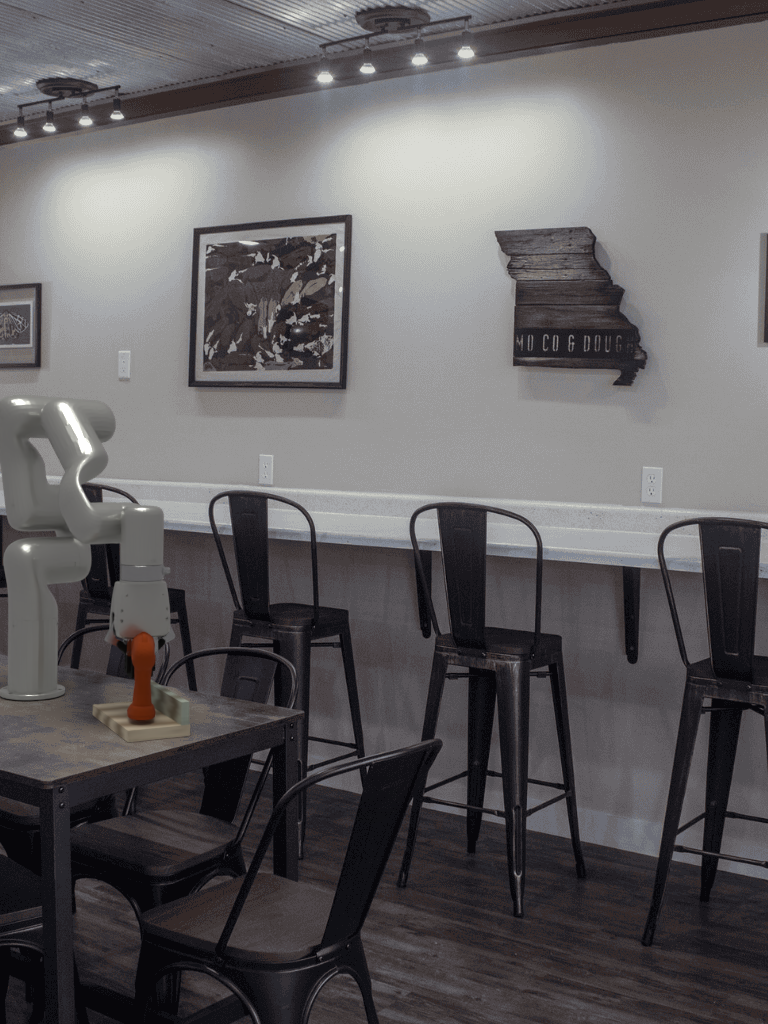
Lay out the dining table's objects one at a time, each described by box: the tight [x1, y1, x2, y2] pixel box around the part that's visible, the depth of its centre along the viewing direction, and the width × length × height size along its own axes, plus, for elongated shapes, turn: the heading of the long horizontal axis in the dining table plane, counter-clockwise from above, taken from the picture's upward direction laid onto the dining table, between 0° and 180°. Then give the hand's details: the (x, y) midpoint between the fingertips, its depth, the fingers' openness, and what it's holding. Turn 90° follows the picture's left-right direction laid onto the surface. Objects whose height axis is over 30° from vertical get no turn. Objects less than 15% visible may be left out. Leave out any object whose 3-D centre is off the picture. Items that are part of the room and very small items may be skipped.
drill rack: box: [92, 679, 191, 743], centre depth 197 cm, size 22×11×6 cm, turn 30°
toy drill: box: [127, 632, 157, 720], centre depth 197 cm, size 5×19×15 cm, turn 15°
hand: (139, 675), depth 197 cm, fingers closed on toy drill, 2 cm apart
